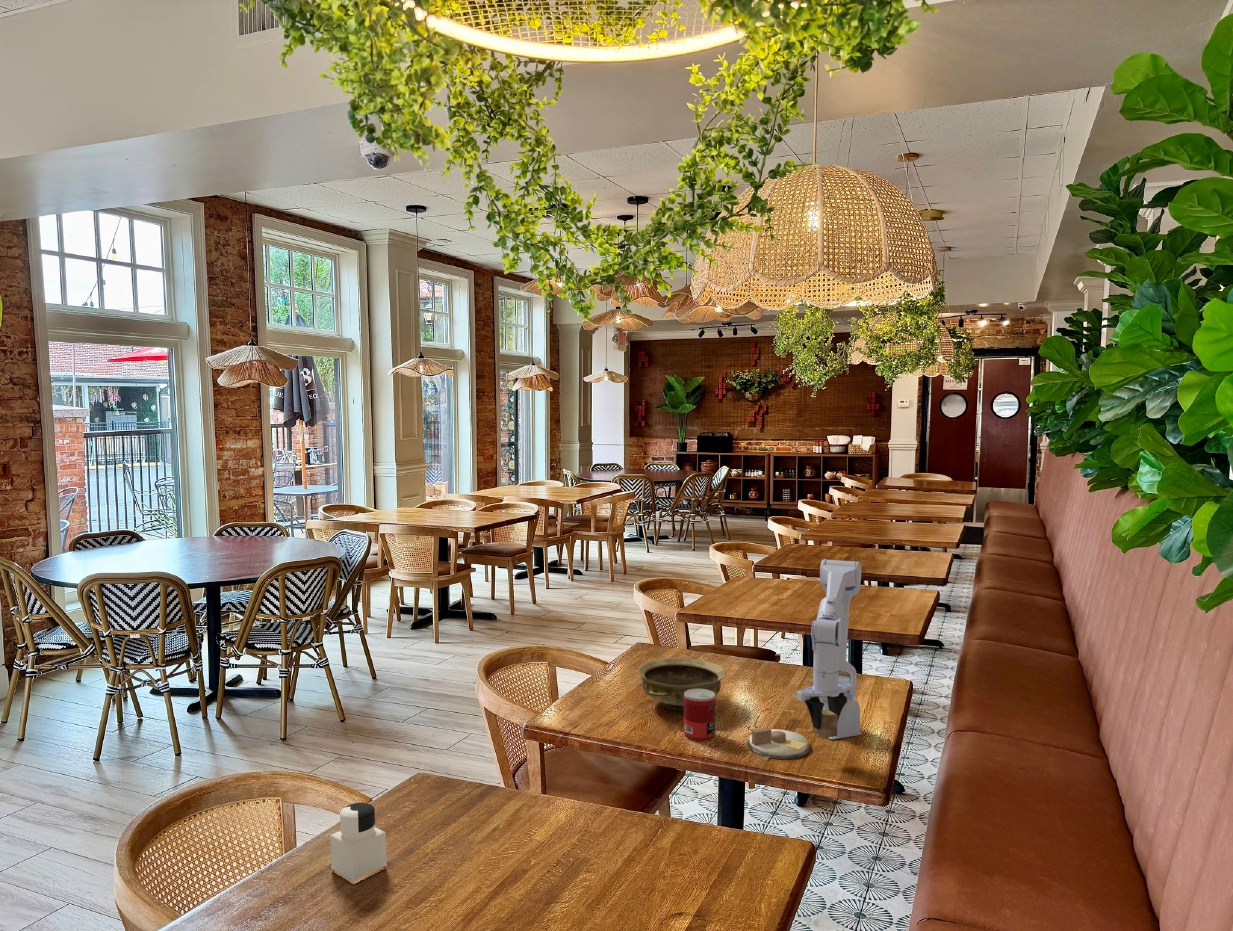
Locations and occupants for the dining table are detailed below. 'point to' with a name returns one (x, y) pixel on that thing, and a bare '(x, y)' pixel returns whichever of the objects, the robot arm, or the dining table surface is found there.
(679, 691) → the ceramic bowl
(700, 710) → the canned food
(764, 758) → the index mark
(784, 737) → the turntable
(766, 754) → the bearing plate
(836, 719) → the walnut block
